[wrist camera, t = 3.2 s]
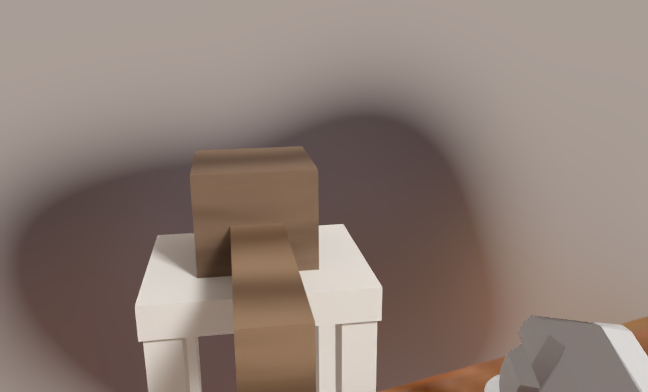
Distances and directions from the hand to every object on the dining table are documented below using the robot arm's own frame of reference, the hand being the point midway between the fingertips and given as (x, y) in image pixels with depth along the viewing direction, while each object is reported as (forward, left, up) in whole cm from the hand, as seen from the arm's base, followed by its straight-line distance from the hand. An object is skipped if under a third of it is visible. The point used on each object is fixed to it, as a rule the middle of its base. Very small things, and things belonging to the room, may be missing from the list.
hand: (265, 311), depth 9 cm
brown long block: (+14, -16, -9) cm, 23 cm away
